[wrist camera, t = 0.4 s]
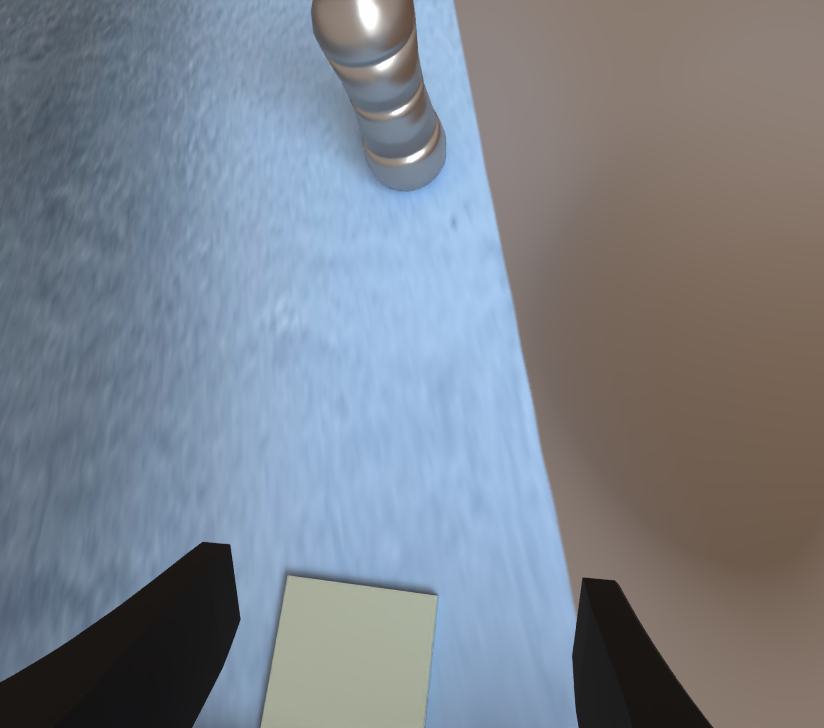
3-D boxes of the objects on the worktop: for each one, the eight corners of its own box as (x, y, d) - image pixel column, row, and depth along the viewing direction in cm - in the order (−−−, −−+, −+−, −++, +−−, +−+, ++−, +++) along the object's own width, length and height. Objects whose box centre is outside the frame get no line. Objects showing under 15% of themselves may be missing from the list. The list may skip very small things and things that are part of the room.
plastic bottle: (375, 209, 51) (276, -11, 33) (371, 141, 54) (276, -98, 35) (455, 194, 50) (398, -41, 32) (447, 126, 52) (390, -130, 34)
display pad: (419, 778, 37) (417, 780, 36) (261, 745, 39) (257, 747, 39) (438, 595, 40) (436, 595, 39) (291, 575, 42) (287, 575, 42)
